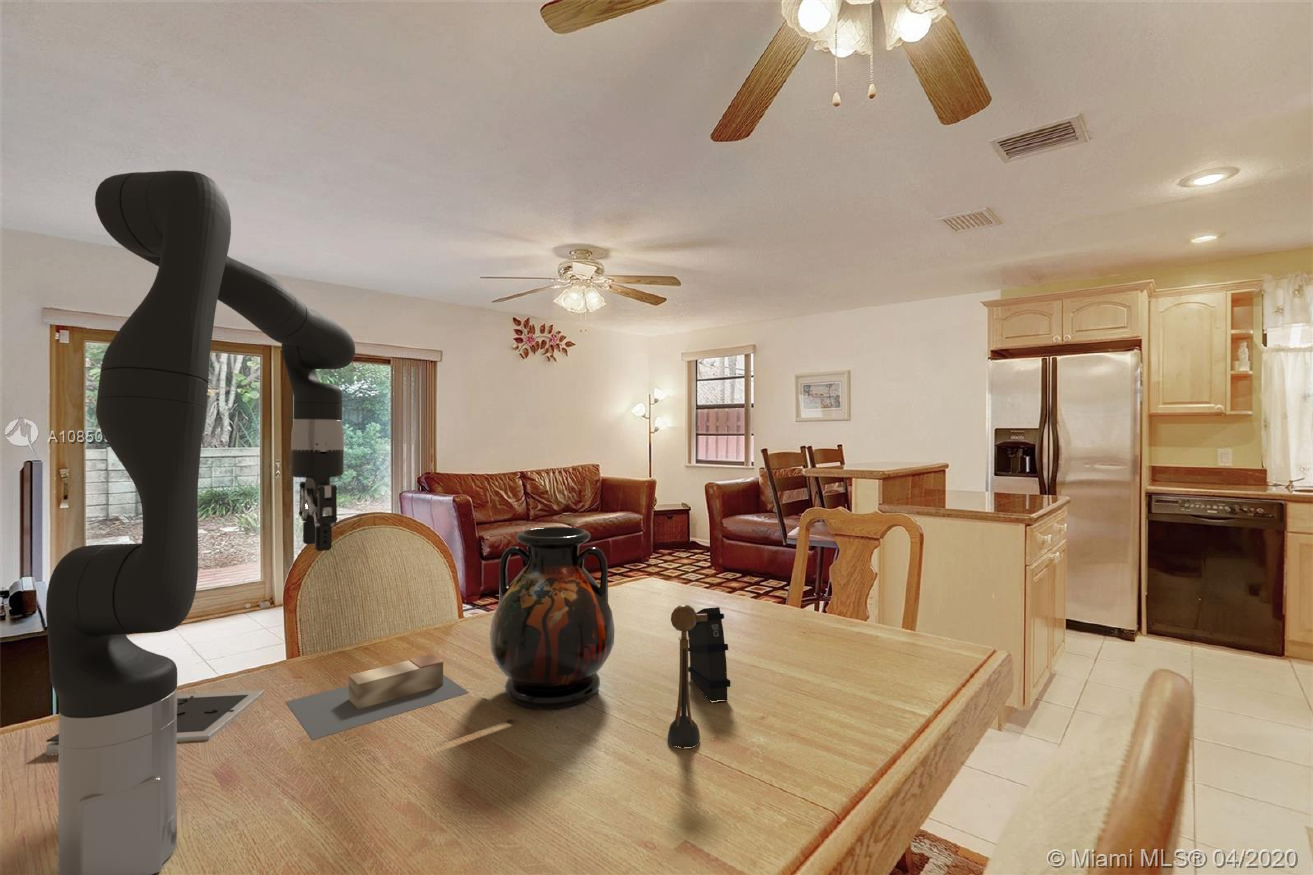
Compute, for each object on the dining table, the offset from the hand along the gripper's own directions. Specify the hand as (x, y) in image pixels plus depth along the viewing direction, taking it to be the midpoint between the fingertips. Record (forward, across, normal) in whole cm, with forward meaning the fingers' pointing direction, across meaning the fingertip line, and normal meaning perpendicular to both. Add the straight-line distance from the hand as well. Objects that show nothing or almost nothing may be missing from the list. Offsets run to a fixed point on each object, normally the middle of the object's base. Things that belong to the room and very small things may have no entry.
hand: (316, 546), depth 99 cm
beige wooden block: (+26, +3, +12) cm, 28 cm away
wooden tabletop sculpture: (+27, +47, +39) cm, 67 cm away
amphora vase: (+27, +19, +33) cm, 47 cm away
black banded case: (+27, +35, +55) cm, 70 cm away
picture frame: (+28, -10, -18) cm, 35 cm away
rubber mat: (+26, +4, +9) cm, 28 cm away
